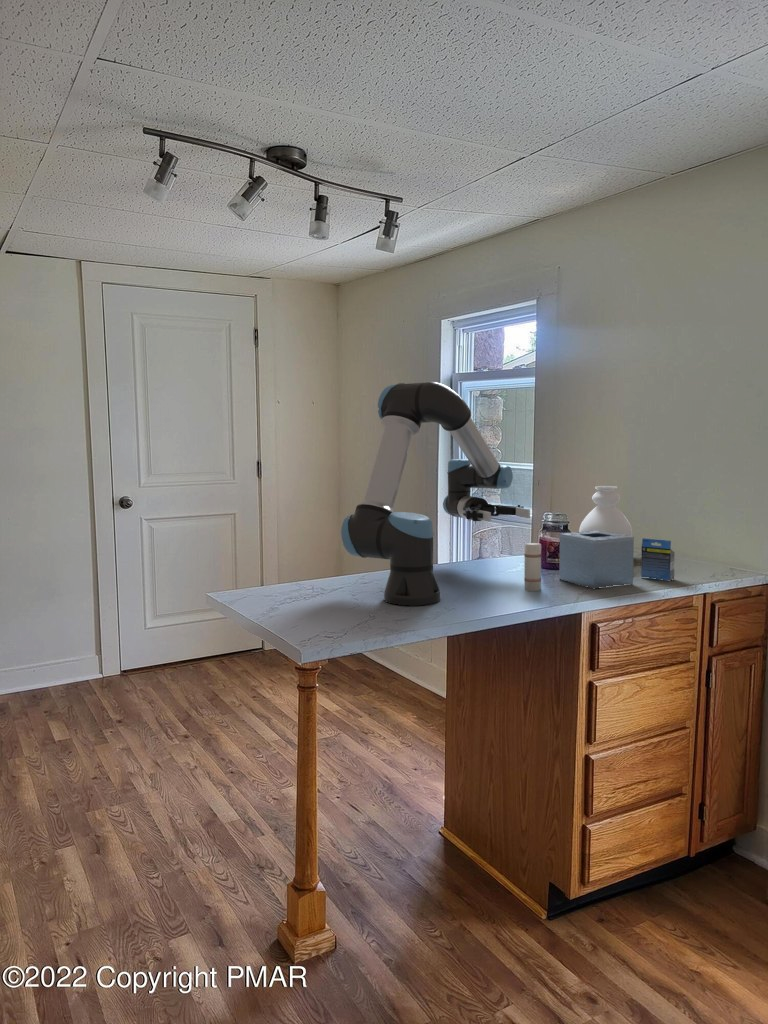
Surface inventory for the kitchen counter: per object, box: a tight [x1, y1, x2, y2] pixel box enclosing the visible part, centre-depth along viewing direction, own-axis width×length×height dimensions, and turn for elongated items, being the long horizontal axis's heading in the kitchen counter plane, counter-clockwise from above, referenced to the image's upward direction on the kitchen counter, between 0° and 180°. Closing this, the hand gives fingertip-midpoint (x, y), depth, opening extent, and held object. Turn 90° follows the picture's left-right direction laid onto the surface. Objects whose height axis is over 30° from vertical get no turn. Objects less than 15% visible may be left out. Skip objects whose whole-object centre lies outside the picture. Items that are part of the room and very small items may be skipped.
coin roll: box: [523, 542, 542, 592], centre depth 209 cm, size 5×5×13 cm
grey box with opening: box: [558, 530, 635, 588], centre depth 217 cm, size 14×16×14 cm
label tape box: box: [640, 537, 676, 582], centre depth 220 cm, size 9×4×12 cm, turn 50°
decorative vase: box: [578, 485, 633, 537], centre depth 258 cm, size 18×18×25 cm
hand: (509, 515), depth 219 cm, fingers open, 13 cm apart
